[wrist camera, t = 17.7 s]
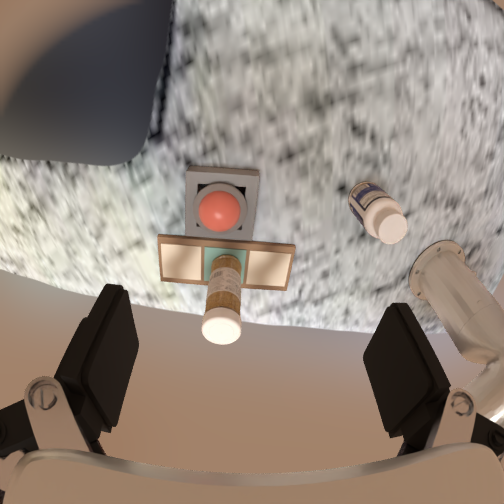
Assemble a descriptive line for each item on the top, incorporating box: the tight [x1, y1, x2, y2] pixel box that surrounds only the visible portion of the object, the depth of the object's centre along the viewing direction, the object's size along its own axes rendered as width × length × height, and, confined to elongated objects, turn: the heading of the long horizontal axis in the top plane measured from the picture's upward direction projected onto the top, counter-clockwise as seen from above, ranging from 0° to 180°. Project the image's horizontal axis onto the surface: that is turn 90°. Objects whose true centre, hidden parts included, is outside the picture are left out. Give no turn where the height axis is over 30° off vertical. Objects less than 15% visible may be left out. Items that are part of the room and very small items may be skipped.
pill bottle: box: [349, 182, 408, 244], centre depth 36 cm, size 5×5×10 cm
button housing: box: [185, 166, 260, 241], centre depth 39 cm, size 9×9×3 cm
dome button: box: [193, 183, 247, 235], centre depth 37 cm, size 7×7×6 cm
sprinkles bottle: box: [202, 255, 242, 344], centre depth 38 cm, size 5×5×14 cm
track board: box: [157, 234, 296, 291], centre depth 44 cm, size 20×8×1 cm, turn 84°
